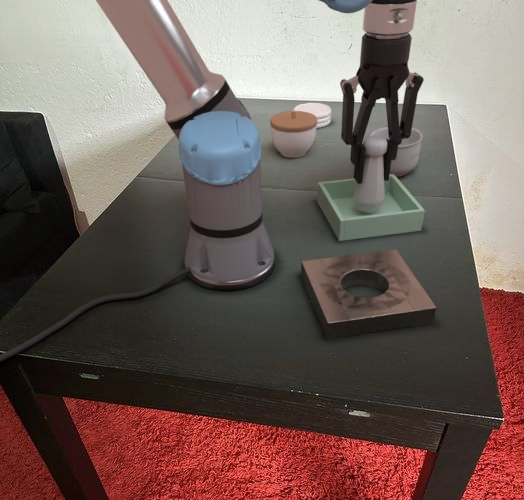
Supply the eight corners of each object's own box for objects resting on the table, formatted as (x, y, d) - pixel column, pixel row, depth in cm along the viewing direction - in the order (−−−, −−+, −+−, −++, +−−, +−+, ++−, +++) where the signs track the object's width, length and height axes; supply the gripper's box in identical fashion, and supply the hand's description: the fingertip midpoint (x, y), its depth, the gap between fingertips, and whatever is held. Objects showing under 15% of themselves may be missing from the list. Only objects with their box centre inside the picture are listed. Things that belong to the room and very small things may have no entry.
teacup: (416, 183, 110) (423, 145, 105) (364, 180, 112) (368, 143, 107) (416, 156, 120) (422, 120, 115) (368, 154, 122) (371, 118, 117)
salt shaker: (349, 211, 99) (354, 142, 90) (356, 198, 102) (362, 130, 94) (380, 216, 97) (389, 146, 88) (386, 202, 101) (395, 134, 92)
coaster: (290, 117, 142) (290, 103, 139) (326, 114, 142) (327, 100, 140) (295, 130, 134) (296, 116, 132) (334, 127, 135) (335, 113, 132)
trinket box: (325, 153, 123) (327, 112, 117) (288, 165, 119) (288, 123, 112) (297, 140, 130) (298, 100, 123) (262, 151, 125) (260, 110, 119)
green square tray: (339, 241, 94) (340, 220, 92) (317, 201, 106) (317, 182, 103) (421, 230, 96) (425, 210, 93) (391, 193, 107) (393, 173, 105)
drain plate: (326, 339, 75) (328, 323, 73) (301, 276, 87) (301, 261, 85) (432, 323, 77) (436, 307, 75) (393, 264, 89) (395, 248, 86)
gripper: (339, 43, 76) (330, 193, 92) (451, 33, 78) (424, 182, 94) (325, 32, 82) (319, 175, 98) (431, 23, 84) (408, 165, 100)
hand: (371, 178), depth 96 cm, fingers closed on salt shaker, 4 cm apart
